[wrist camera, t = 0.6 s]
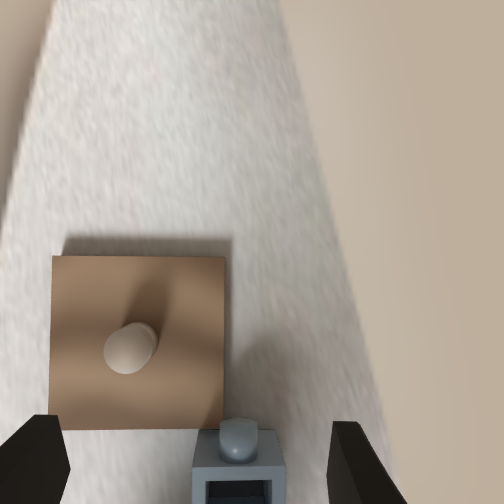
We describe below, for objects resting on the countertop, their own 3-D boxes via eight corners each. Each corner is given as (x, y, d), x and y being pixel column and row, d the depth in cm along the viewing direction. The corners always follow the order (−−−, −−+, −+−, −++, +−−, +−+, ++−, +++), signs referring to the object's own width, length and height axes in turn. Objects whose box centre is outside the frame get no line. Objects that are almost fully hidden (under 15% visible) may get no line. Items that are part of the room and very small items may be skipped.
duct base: (223, 420, 32) (222, 448, 27) (56, 422, 31) (24, 451, 26) (224, 257, 33) (224, 255, 28) (60, 256, 32) (29, 253, 27)
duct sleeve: (274, 507, 32) (285, 561, 26) (197, 509, 32) (190, 564, 26) (274, 402, 32) (285, 431, 26) (198, 403, 32) (192, 433, 26)
